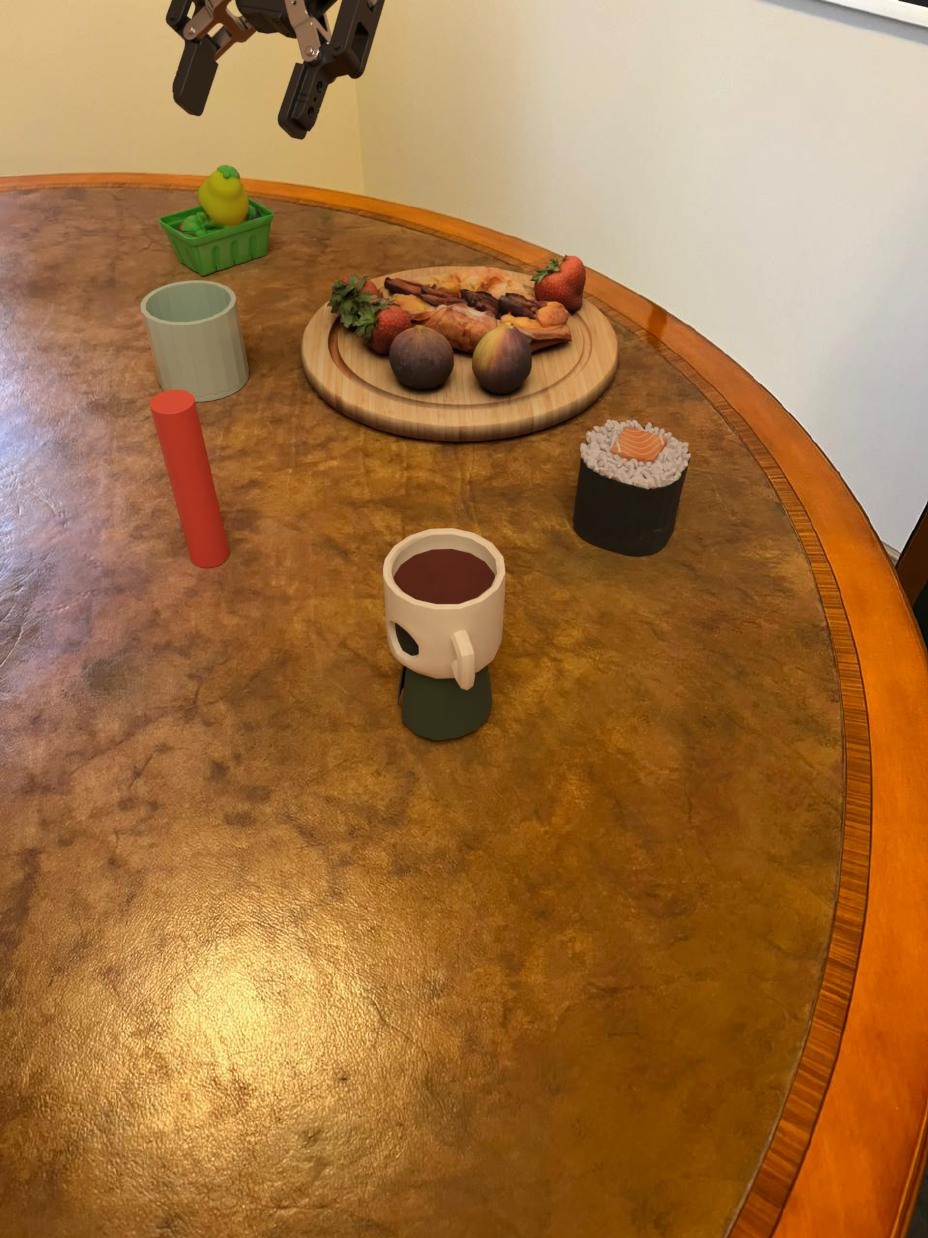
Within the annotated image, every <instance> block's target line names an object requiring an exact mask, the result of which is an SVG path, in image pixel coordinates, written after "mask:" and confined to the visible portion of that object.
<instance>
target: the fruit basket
mask: <svg viewBox="0 0 928 1238" xmlns="http://www.w3.org/2000/svg"><path fill="white" fill-rule="evenodd" d="M197 201H198V203H199V204H200V205H198V206H194V207H191V208H187V209H184V210H180V211H177V212H174V213H170V214H167V215H163V216H160V217H159V218H158V219H157V221H158V223H159V225H160V227H161V229H162V230H163V231H164V233H165V235H166V237H167V238H168V241H169V243H170V245H171V247H172V249H173V251H174V253H175V255H176V257H177V259H178V261H179V263H180V264H183V265H185V267H187V268H189V269H190V270H191V271H193V272H194V273H198V275H199V276H201V277H205V276H207V275H211V274H213V273H215V272H218V271H222V270H227V269H230V268H232V267H234V266H237V265H241V264H244V263H247V262H250V261H251V260H255V259H259V258H262V257H265V256H267V253H268V247H269V241H270V234H271V226H272V223H273V220H274V215H275V212H274V211H273V210H270V209H268V208H267V207H266V206H264V205H262V204H260V203H259V202H258V201H255V200H254V199H251V198H250V197H249V196H248V192H247V189H246V187H245V186H244V184H243V183H242V182H241V175H240V173H239V170H237V169H236V168H235V167H234V166H232V165H227V164H222V165H219V166H218V167H217V168H216V169H215V170H214V171H213V172H211V174H210V175H208V177H207V178H206V179H205V180H204V181H203V183H201V184H200V186H199V188H198V190H197Z"/></svg>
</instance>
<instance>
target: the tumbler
mask: <svg viewBox="0 0 928 1238" xmlns="http://www.w3.org/2000/svg"><path fill="white" fill-rule="evenodd" d="M139 306H140V312H141V316H142V320H143V324H144V328H145V329H144V330H145V333H146V335H147V340H148V345H149V349H150V352H151V355H152V360H153V364H154V368H155V372H156V376H157V380H158V383H159V386H160V388H161V390H162V392H164V391H168V390H184V391H188V392H190V393H191V394H192V395H193V396H194V398H195V402H196V403H203V402H204V403H205V402H211V401H216V400H220V399H225V398H227V397H229V396H231V395H233V394H235V393H237V392H238V391H240V390H241V389H242V388H243V387H245V385H246V384H247V383H248V380H249V378H250V370H249V369H250V368H249V364H248V363H249V362H248V357H247V351H246V346H245V339H244V335H243V329H242V323H241V317H240V312H239V306H238V299H237V296H236V293H235V291H234V290H232V289H231V288H230V287H229V286H227V285H224V284H223V283H220V282H216V281H211V280H201V279H200V280H197V279H196V280H195V279H194V280H193V279H192V280H191V279H190V280H183V281H175V282H172V283H169V284H165V285H162V286H159V287H158V288H155V289H154V290H151V291H150V292H148V293H147V294H146V295H145V296H144V297H143V298H142V300H141V303H140V305H139Z"/></svg>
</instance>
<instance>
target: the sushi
mask: <svg viewBox="0 0 928 1238" xmlns="http://www.w3.org/2000/svg"><path fill="white" fill-rule="evenodd" d="M672 435H673V433H672V432H670V431H669V432H666V430H665V428H664V427H663V428H659V427H658V426H655V427H653V424H652V423H651V422H650V421H648V422H647V424H646V425H645V426H642V425H641V424H640V423H639V422H638V421H637V420H636V419H632V420H629V419H627V420H625V421H620V422H618V421H617V420H615V419H610V418H609V419H607V420H606V421H605V423H604V424H603V426H602V425H601V426H599V425H594V426H593V430H591V431H589V430H587V431H586V433H585V436H586V437H585V442H581V443H580V445H579V446H580V448H579V451H580V454H579V455H580V462H579V470H578V478H577V484H576V485H577V486H576V491H575V492H576V493H575V501H574V508H573V516H572V525H573V529H574V531H575V532H576V533H577V534H578V536H579V537H580V538H581V539H583V540H584V541H585V542H588V543H589V544H591V545H594V546H596V547H598V548H601V549H605V550H608V551H611V552H614V553H617V554H620V555H622V556H627V557H635V558H641V557H647V556H653V555H655V554H657V553H659V552H660V551H661V550H663V549H664V548H665V547H666V546H667V544H668V543H669V540H670V539H671V537H672V535H673V533H674V532H675V526H676V521H677V516H678V510H679V505H680V499H681V495H682V492H683V488H684V484H685V480H686V476H687V473H688V469H689V466H690V461H691V457H692V455H691V452H690V451H689V448H688V447H689V445H690V442H687V441H683V442H682V440H679V439H677V438H676V437H674V436H672Z"/></svg>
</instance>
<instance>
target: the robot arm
mask: <svg viewBox="0 0 928 1238" xmlns="http://www.w3.org/2000/svg"><path fill="white" fill-rule="evenodd" d="M232 1H233V0H171V1H170V4H169V7H168V9H167V12H166V14H165V22H166V24H167V25H168V27H170V28H171V29H172V30H173V32H175V33H176V34H177V35H178V36H179V37H180V38H181V39H182V40H183V41H184V47H183V51H182V53H181V57H180V59H179V63H178V66H177V70H176V72H175V76H174V79H173V81H172V91H171V92H172V98H173V101H174V103H175V104H176V105H177V106H178V107H180V108H181V109H182V110H183V111H184V112H186V114H188V115H191V116H194V117H201V116H202V115H203V113H204V111H205V109H206V105H207V101H208V99H209V95H210V92H211V89H212V86H213V84H214V81H215V78H216V74H217V71H218V67H219V65H220V64H219V63H218V62H217V61H218V60H219V59H221V58H222V56H223V55H225V53H226V52H227V51H228V50H229V49H231V48H232V47H233V46H234V44H236V43H239V44H243V43H246V42H247V41H248V40H249V39H250V38H251V37H252V36H253V35H254V34H255V33H260V34H265V35H271V34H276V33H278V34H280V35H282V36H283V37H285V38H287V39H288V38H289V39H294V40H297V44H298V47H299V48H298V49H299V52H300V56H301V59H302V60H303V62H302V63H301V62H295V64H294V66H293V69H292V71H291V75H290V78H289V81H288V84H287V87H286V89H285V93H284V96H283V98H282V102H281V104H280V108H279V111H278V114H277V124H278V126H279V127H280V128H281V130H283V131H284V133H286V134H287V135H288V136H289V137H290V138H291V139H296V140H299V141H300V140H301V141H303V140H304V139H305V138H306V136H307V134H308V132H311V130H312V129H313V128H314V127H315V125H316V122H317V120H318V117H319V116H318V115H319V114H320V110H321V107H322V105H323V102H324V99H325V96H326V93H327V90H328V87H329V85H331V84H333V83H334V82H335V81H336V80H337V79H338V78H339V77H344V76H348V77H349V78H350V79H352V80H357V79H360V78H361V77H362V76H363V75H364V73H365V70H366V68H367V63H368V60H369V58H370V53H371V50H372V48H373V43H374V39H375V36H376V33H377V28H378V26H379V23H380V19H381V16H382V12H383V9H384V5H385V2H386V0H341V2H340V5H339V8H338V12H337V16H336V19H335V23H334V25H333V29H332V31H331V27H330V24H329V19H328V16H327V12H328V11H329V10H330V9H331V8H332V7H333V6H334V5H335V4H336V3H337V2H338V1H339V0H234V2H235V3H234V4H235V6H236V8H237V10H238V12H239V14H240V15H241V16H240V15H239V16H236V15H234V14H233V13H232V11H231V10H230V9H229V7H228V6H229V4H230V3H232ZM192 4H193V5H194V10H193V13H192V16H191V18H190V17H189V16H188V15H189V12H190V9H191V6H192ZM218 24H220V25H222V26H221V27H220V28H219V29H218V30H217V31H216V32H215V33H214V34H213V35H210V34H209V33H210V31H212V30H213V29H214V28H215V27H216V25H218Z"/></svg>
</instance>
